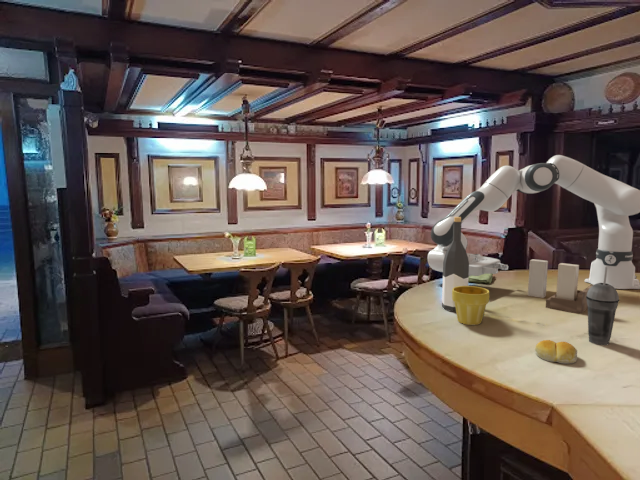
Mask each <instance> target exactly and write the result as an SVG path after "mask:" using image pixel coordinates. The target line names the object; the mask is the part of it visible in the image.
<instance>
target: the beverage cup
mask: <svg viewBox="0 0 640 480" xmlns="http://www.w3.org/2000/svg"><path fill="white" fill-rule="evenodd" d="M606 276H607V267H605V273H604V281H603V283H597V284H595V285H593V284H592V285H593V286H592V287H590V289H589V290H588V292H587V296H586V298H587V305H588V309H587V328H588V329H587V330H588V331H587V333H588V334H587V336H588V342H589V343H591V344H594V345H598V346H608V345H610V341H611V337H612V334H613V333H612V332H613V328H614V321H615V317H616V311H617V309H618V306H619V302H620V299H619V297H620V296H619V293H618V291H617V290H616V289H615V288H614V287H613V286H611V285H609V284H607V283H606Z"/></svg>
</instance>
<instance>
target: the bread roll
mask: <svg viewBox="0 0 640 480" xmlns="http://www.w3.org/2000/svg"><path fill="white" fill-rule="evenodd" d="M534 352H535V353H534V354H535V355H536V356H537V357H539V358H540V359H542V360H544V361H546V362H551V363H555V362H557V363H558V364H561V365H562V364H565V365H570V364H575V363H577V361H578V350H577V348H576V347H575V346H573V344H571V343H569V342H566V341H558V342H555V341H553V340H551V339H543V340H541V341H539V342H538V343H537V344H536V345H535V347H534Z"/></svg>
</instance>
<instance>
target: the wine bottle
mask: <svg viewBox="0 0 640 480" xmlns="http://www.w3.org/2000/svg"><path fill="white" fill-rule="evenodd" d="M453 223H454V224H453V241H452V243H451V245H450V246H449V248H448V250H447V252H446V254H445V257H444V261H443V272H442V290H441V291H442V292H441V293H442V294H441V307H442V309H443V308H444V309H445V311H449V310H450V311H449V312H456V307H455V302H454V301H453V300H452V289H453V288H454V287H458V286H469V282H468V278H469V260H468V256H467V253H468V252H467V251H466V250H467V249H466V250H465V248H464V246H463V244H462V242H461V232H462V222H461V217H454V222H453ZM444 309H443V310H444Z"/></svg>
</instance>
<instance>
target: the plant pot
mask: <svg viewBox="0 0 640 480" xmlns="http://www.w3.org/2000/svg"><path fill="white" fill-rule="evenodd" d="M452 300H453V301H454V302H455V307H456V311H455V312H456V317H457V322H459V323H461V324H462V323H463V324H462V325H468V326H476V325H480V324H481V323H483V322H482V321H483V318H484V315H485V310H486V307H487V305H488V304H489V301H490V290H489V289H487V288H484V287H481V286H476V285H475V286H474V285H468V286H458V287H454V288H453V289H452Z"/></svg>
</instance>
